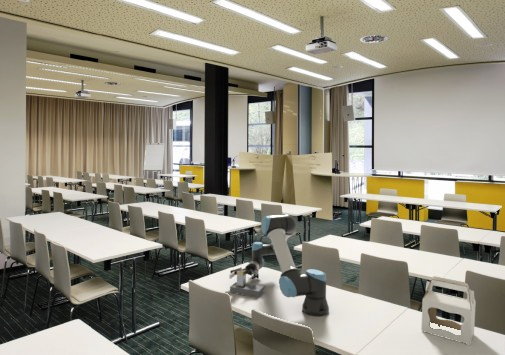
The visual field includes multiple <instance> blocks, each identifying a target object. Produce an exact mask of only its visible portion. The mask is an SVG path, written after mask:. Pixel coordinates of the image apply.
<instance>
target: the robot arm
mask: <svg viewBox="0 0 505 355" xmlns="http://www.w3.org/2000/svg"><path fill="white" fill-rule="evenodd" d="M296 231H297V221H296V220H295V218H294V217H293V216H291V215H290V214H275V215H264V216H263V218H262V219H261V232H262V234H263V235H264V236H265V235H266V237H267V239H268V240H269V241H271V243H269V244H267V243H266V244H263V242H260V241H255V242H253V243H252V245H251V257H252V258H251V261H250V263H248V264H246V266H245V267H244V268H242V267H239V268H236V269H231V270H229V272H230V274H229V275H228V276H229V277H228V278H229V279H230V280H231V279H232V278H234V277H235V276H237V271H238V270H239V269H242V270H246V275H249V277H248V283H250V282H251V281H253V280H255V279H260V278H259V277H260V276H259V271H260V270H261V269H262V268H263V267H264V266H265V260H264V258H263V256H269V255H270V256H272V255H275V256H276V259H277V263H278V266H279V268H280V271H281V274H280V277H279V280H278V284H279V289H280V291H281V294H282V295H283V296H284V297H286V298H295V297H296V298H297V297H303V296H304V300H303V304H302V306H301V307H302V308H301V310H302V311H303V313H304V314H306V315H308V316H314V317H322V316H326V315H327V314H329V312H330V307H329V304H328V300H327V282H328V281H327V275H326V273H325V272H323V271H321V270H320V269H311V268H309V269H308V268H307V269H306V270H305V273H302V272H301V271H300V269H299V268H297V267H296V264H295V263H294V260H293V256H292V253H291V251H290V247H289V245H288V243H287V240H288V239H289V238H290V237H291V236H292V235H294V233H295V232H296Z"/></svg>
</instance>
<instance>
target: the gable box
mask: <svg viewBox="0 0 505 355" xmlns="http://www.w3.org/2000/svg"><path fill="white" fill-rule="evenodd" d="M434 286H435V287H440V288H444V289H450V290H455V291H458V292H459V291H460V292H463V293H466V295H467V296H466V298H462V297H458V296H453V295H449V294H446V293H441V292H436V291H433V287H434ZM476 304H477V301H476V299H475V290H471V288H470V287H469V283H468V282H464V281H460V280H459V281H458V280H453V279H449V278H444V277H440V276H432V278H431V281H428V280H426V284H425V292H424V295H423V297H422V303H421V306H422V307H421V308H422V309H421V330H422V331H425V332H428V333H427V334H429V333H432V334H436V335H439V336H443V337H447V338H450V339H453V340H457V341H460V342H463V343H467V344H470V345H471V343H472V341H473V339H474V336H473V335H475V324H476V323H475V322H476ZM437 309H439V310H441V311H444V312H447V313H449V314H457V315H460V316H462V317H463V318H464V320H463V322H462V324H460V323H457V322H456V321H453V320H451V319H440V318H438V317H437V316H436V315H437V311H438V310H437ZM430 322H431V323H435V324H438V326H439V327H440V325H442V326H446V327H450V328H454V329H457V330H461V335H455V334H453V333H451V332H449V331H446V330H442V329H433V328H431V327H430ZM421 330H420V331H421ZM422 331H421V332H422ZM425 332H424V333H425ZM432 334H431V335H432ZM436 335H435V336H436ZM439 336H438V337H439ZM443 337H442V338H443ZM453 340H452V341H453ZM460 342H459V343H460ZM470 342H471V343H470ZM463 343H462V344H463ZM467 344H466V345H467Z"/></svg>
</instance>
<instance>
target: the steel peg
mask: <svg viewBox="0 0 505 355" xmlns="http://www.w3.org/2000/svg"><path fill="white" fill-rule="evenodd" d="M242 269H243V268H242ZM242 269H239V270H238V271H237V275H236V282H237V287H241V288H244V287H245V286H246V284H247V274H246V270H242Z"/></svg>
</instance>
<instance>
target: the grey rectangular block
mask: <svg viewBox="0 0 505 355" xmlns="http://www.w3.org/2000/svg"><path fill="white" fill-rule="evenodd" d="M230 292H232V293H231V294H235V293H238V294H237V295H240V294H243V295H242V296H246V295H247V296H248V297H251V298H252V297H253V298H260V297H261V296H262V295H263V294H264V293H265V286H263V285H257V284H252V283H251V284H250V283H246V286H245V287H244V288H241V287H237V281H236V282H234V283H233V284H232V285H231V286H229V293H230Z"/></svg>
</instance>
